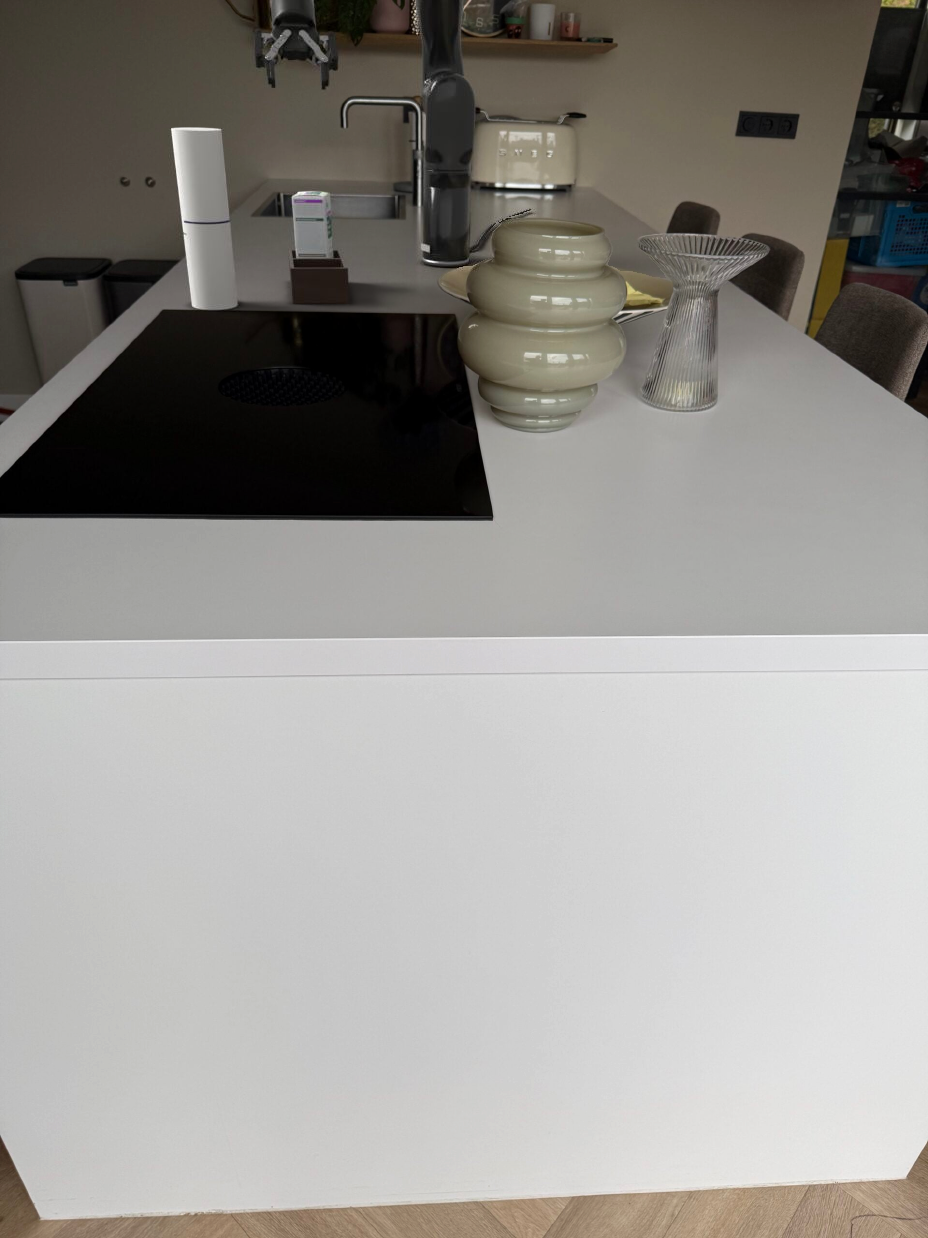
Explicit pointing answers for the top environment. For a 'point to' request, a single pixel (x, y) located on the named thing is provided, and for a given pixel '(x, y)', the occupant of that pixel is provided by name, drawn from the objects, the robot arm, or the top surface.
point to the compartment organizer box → (318, 279)
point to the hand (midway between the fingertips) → (298, 84)
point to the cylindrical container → (205, 217)
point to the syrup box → (312, 224)
